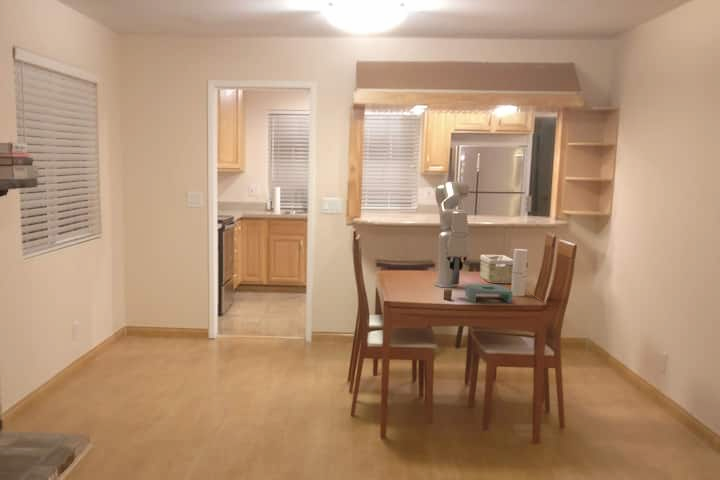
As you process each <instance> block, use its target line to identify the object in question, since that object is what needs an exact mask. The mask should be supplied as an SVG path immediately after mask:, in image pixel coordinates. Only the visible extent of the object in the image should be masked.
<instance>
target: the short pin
mask: <svg viewBox="0 0 720 480" xmlns="http://www.w3.org/2000/svg"><path fill="white" fill-rule="evenodd" d="M452 292H453V291H452V289H450V288H449V289H448V288H446V289H445V288H444V289H443V300H444V301H452V297H453V296H452V294H453V293H452Z"/></svg>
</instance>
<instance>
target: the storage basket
mask: <svg viewBox="0 0 720 480" xmlns="http://www.w3.org/2000/svg"><path fill="white" fill-rule="evenodd" d="M479 260H480V266H479V267H480V269H479V271H480V274H479V275H480V278H481V279H483V280H484V281H486V282H488V283H491V284H492V283H493V284H512V272H513V258H511V257H508V256H507V255H504V254H480V257H479Z"/></svg>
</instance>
